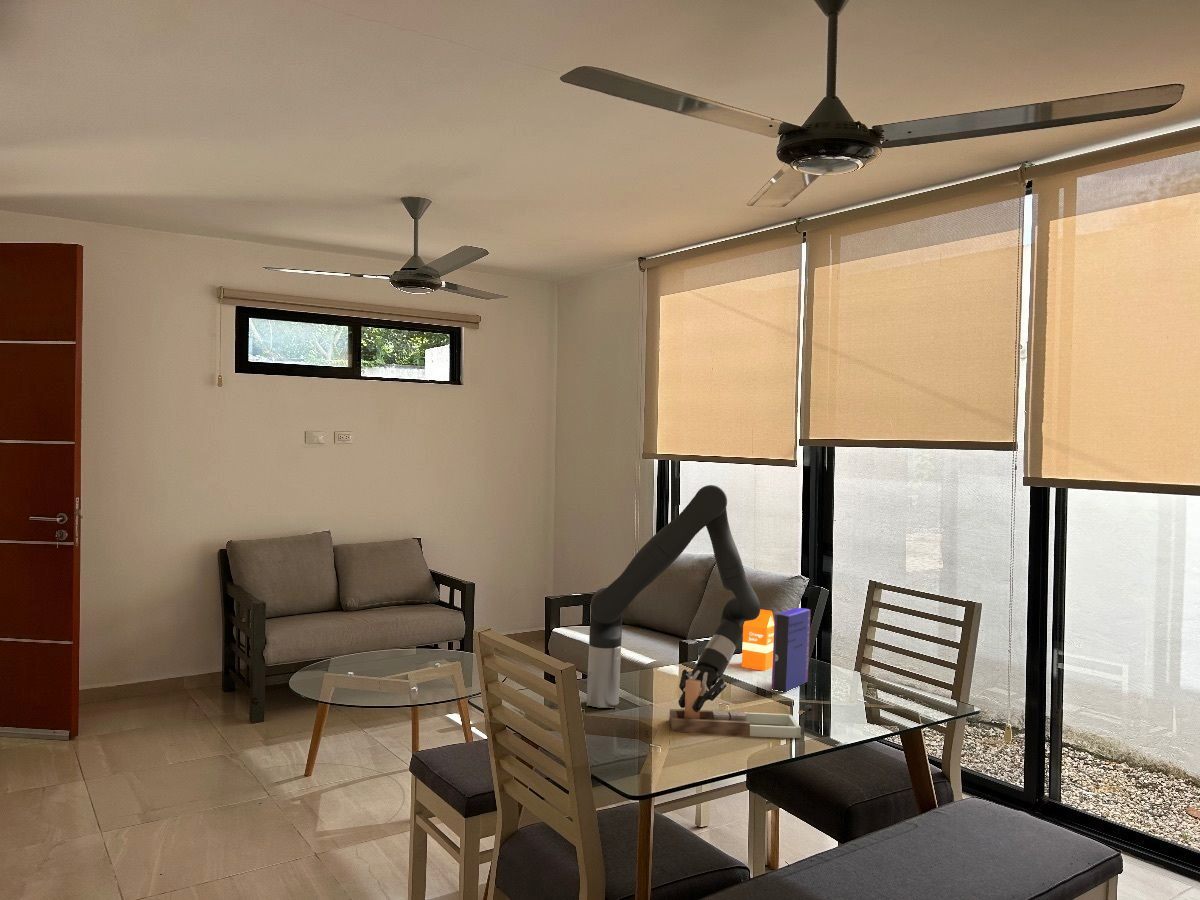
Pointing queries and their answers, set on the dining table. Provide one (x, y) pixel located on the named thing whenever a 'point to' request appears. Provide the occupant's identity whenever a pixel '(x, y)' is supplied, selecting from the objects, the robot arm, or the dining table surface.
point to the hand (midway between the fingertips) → (687, 707)
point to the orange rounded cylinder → (691, 698)
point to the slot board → (706, 724)
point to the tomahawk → (805, 708)
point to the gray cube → (737, 716)
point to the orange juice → (758, 642)
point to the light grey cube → (720, 715)
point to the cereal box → (790, 649)
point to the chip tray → (773, 731)
